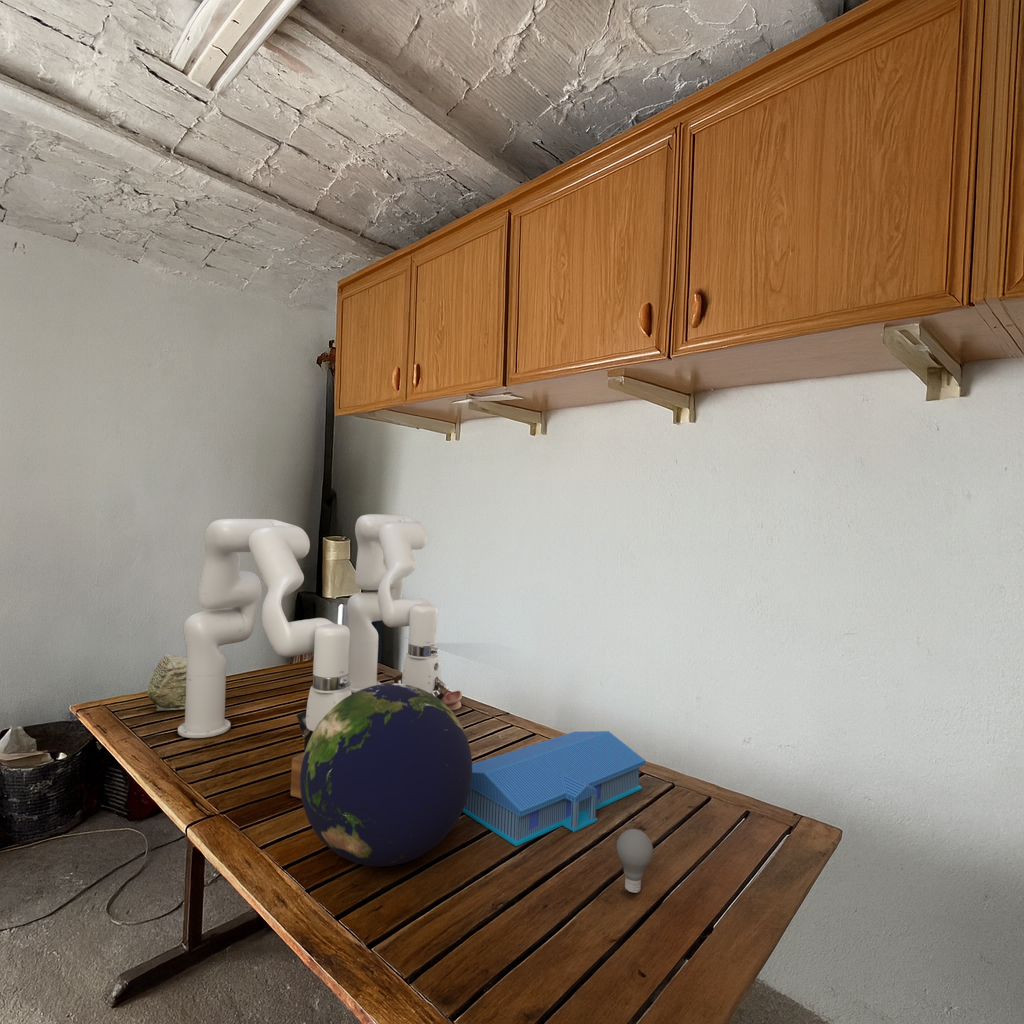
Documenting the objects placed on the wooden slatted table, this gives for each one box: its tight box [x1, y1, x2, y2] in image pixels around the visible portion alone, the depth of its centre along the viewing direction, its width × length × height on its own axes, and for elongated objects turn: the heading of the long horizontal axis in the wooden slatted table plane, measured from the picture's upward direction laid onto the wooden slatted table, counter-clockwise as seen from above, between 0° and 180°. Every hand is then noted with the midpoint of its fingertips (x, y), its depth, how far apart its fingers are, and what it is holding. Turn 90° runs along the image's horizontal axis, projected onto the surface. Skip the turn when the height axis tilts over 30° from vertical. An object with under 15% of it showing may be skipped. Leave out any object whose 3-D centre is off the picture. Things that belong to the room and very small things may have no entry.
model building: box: [462, 730, 646, 847], centre depth 137 cm, size 39×24×10 cm, turn 132°
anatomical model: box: [442, 690, 463, 711], centre depth 194 cm, size 13×4×12 cm
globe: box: [300, 682, 473, 868], centre depth 113 cm, size 30×30×30 cm
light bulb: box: [615, 828, 654, 894], centre depth 106 cm, size 6×6×10 cm
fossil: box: [147, 654, 187, 712], centre depth 185 cm, size 9×18×15 cm, turn 132°
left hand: (326, 758), depth 140 cm, fingers open, 9 cm apart
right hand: (419, 712), depth 172 cm, fingers open, 9 cm apart
